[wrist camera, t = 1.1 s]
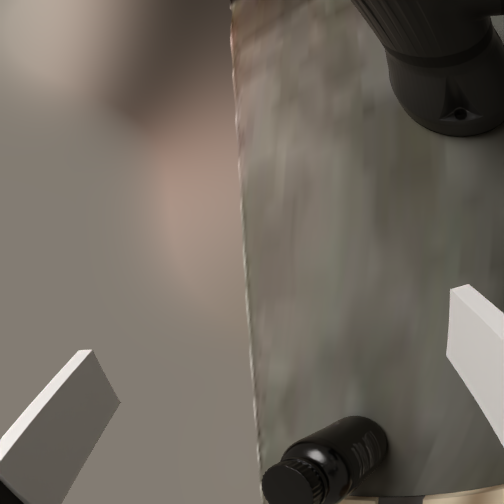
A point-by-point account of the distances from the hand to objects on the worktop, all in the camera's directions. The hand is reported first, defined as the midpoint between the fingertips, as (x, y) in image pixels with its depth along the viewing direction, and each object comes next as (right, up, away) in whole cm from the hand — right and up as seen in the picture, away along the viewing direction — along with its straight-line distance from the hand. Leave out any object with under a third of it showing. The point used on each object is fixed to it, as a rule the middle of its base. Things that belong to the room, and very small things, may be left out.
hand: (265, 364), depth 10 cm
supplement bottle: (+10, -16, +16) cm, 25 cm away
